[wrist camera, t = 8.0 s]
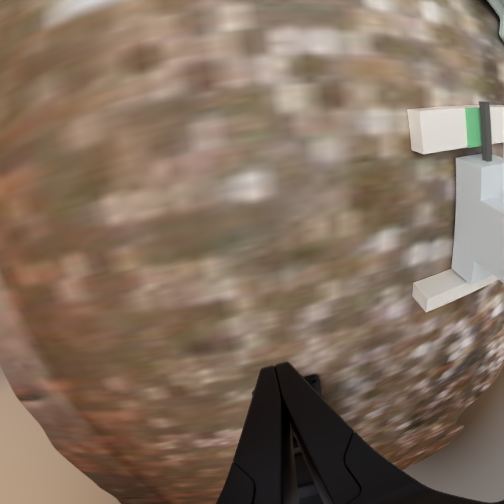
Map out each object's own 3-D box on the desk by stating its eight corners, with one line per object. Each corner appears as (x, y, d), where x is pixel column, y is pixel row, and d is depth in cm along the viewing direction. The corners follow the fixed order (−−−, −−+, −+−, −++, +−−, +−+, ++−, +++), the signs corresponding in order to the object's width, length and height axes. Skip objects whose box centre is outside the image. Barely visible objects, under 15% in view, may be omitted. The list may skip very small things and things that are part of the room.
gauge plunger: (480, 256, 24) (531, 298, 18) (451, 267, 24) (502, 315, 18) (483, 99, 18) (555, 114, 11) (451, 100, 18) (527, 113, 11)
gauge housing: (509, 255, 26) (539, 278, 21) (412, 296, 26) (441, 330, 21) (517, 104, 18) (557, 114, 14) (407, 109, 18) (452, 116, 14)
